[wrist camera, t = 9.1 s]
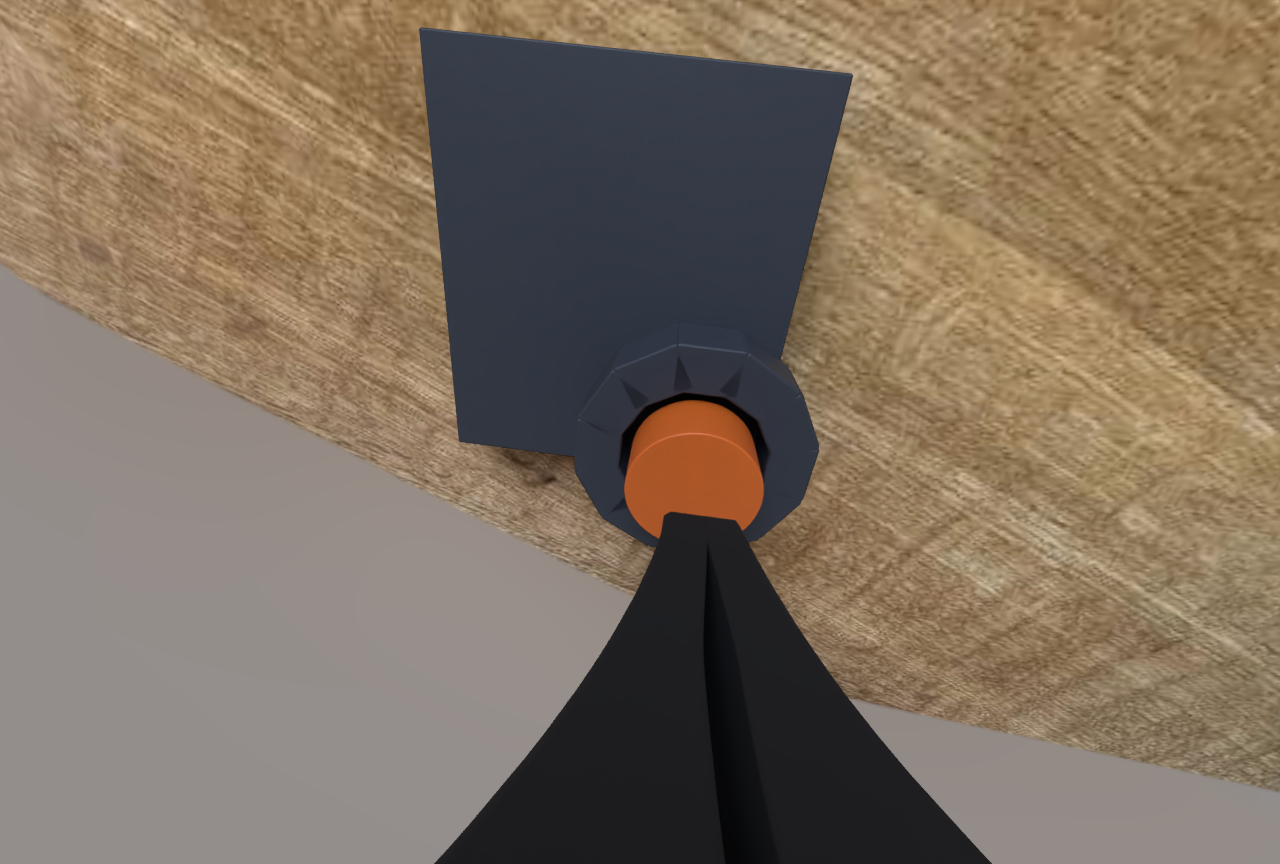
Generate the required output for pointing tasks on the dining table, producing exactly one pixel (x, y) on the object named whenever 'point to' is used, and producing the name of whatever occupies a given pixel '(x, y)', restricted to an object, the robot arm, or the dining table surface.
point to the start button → (693, 466)
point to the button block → (625, 246)
